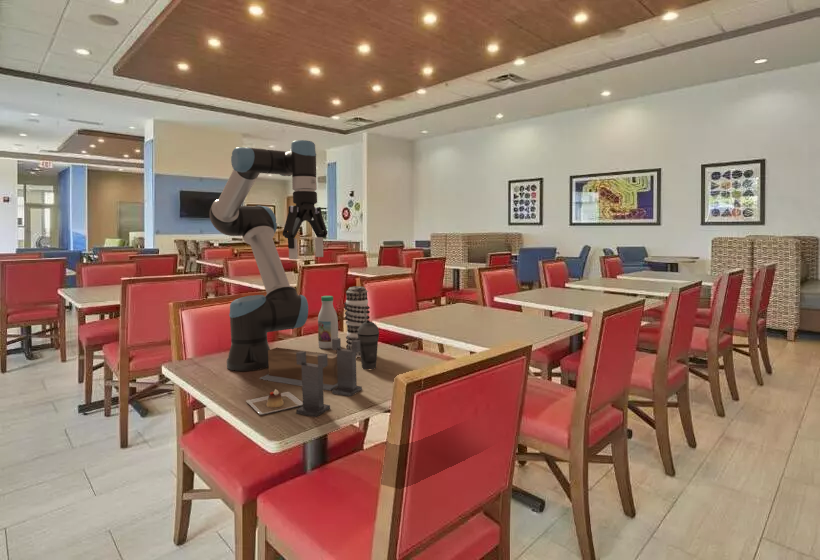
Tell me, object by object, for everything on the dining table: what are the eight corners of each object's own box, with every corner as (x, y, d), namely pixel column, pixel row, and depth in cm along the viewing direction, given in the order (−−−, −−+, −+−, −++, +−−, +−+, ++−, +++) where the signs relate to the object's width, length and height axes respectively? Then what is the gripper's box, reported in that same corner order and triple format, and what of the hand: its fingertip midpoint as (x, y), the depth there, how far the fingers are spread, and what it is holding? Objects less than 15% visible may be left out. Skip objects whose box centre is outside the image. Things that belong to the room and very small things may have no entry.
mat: (259, 379, 149) (259, 377, 149) (281, 370, 158) (281, 369, 158) (330, 390, 138) (330, 388, 138) (349, 380, 147) (349, 378, 147)
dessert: (245, 404, 129) (244, 387, 129) (288, 395, 136) (288, 378, 135) (259, 418, 119) (259, 400, 119) (305, 408, 126) (305, 390, 126)
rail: (333, 385, 141) (332, 358, 140) (269, 375, 151) (267, 350, 150) (340, 381, 145) (340, 355, 144) (277, 371, 155) (276, 347, 154)
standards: (293, 412, 121) (291, 354, 120) (341, 386, 141) (339, 336, 140) (319, 417, 118) (317, 358, 116) (364, 390, 138) (363, 338, 136)
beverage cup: (376, 371, 156) (375, 310, 154) (355, 370, 157) (353, 309, 155) (382, 365, 163) (381, 306, 161) (361, 364, 164) (360, 306, 162)
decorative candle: (341, 353, 179) (340, 286, 176) (365, 350, 183) (364, 285, 180) (350, 359, 171) (348, 289, 168) (374, 356, 175) (373, 287, 172)
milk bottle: (331, 343, 195) (330, 294, 193) (342, 346, 189) (341, 296, 187) (314, 346, 190) (313, 296, 188) (325, 350, 184) (324, 298, 182)
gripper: (288, 187, 140) (291, 260, 142) (336, 193, 163) (338, 256, 165) (268, 188, 143) (271, 260, 146) (318, 193, 166) (320, 255, 168)
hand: (307, 258), depth 155 cm, fingers open, 13 cm apart
